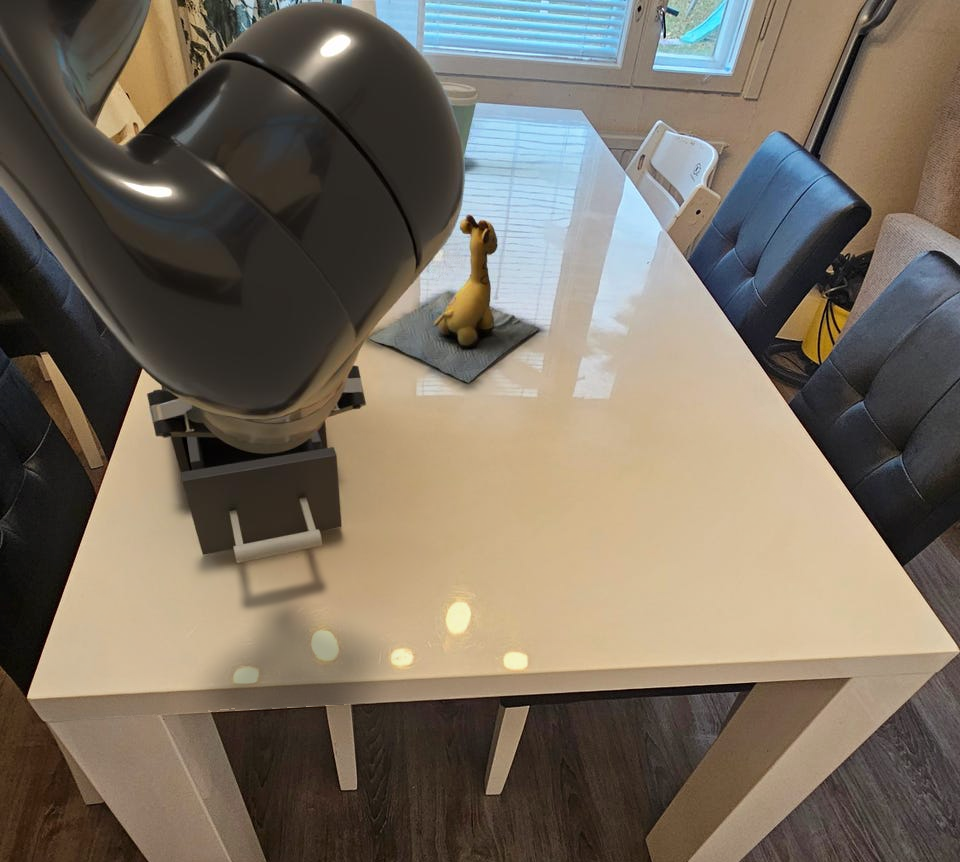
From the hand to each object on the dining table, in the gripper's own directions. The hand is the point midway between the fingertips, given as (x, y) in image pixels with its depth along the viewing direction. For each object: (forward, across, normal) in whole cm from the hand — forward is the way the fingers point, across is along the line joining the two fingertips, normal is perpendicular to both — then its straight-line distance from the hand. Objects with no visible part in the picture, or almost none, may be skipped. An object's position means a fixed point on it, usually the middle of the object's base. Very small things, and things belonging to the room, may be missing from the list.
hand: (258, 422), depth 51 cm
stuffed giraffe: (+39, -30, -14) cm, 51 cm away
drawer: (+18, 0, +6) cm, 19 cm away
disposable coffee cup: (+84, -51, -59) cm, 115 cm away
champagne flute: (+106, -42, -81) cm, 140 cm away
